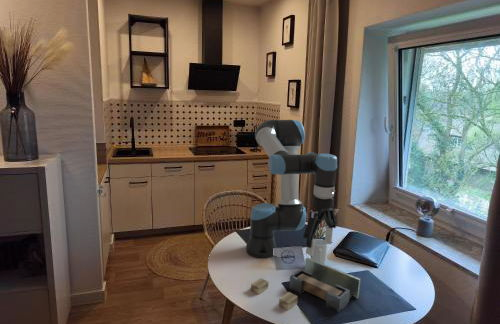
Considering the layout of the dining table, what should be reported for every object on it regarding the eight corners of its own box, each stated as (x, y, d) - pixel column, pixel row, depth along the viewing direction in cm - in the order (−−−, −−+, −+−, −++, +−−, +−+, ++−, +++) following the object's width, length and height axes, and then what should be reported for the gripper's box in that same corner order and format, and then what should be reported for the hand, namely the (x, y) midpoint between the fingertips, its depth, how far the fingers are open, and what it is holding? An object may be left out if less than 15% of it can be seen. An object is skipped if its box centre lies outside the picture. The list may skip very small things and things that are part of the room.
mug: (309, 262, 162) (311, 238, 160) (324, 263, 162) (326, 239, 159) (310, 273, 153) (312, 248, 150) (326, 275, 152) (328, 249, 149)
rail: (296, 286, 141) (296, 277, 140) (301, 282, 144) (302, 273, 143) (336, 305, 129) (337, 295, 128) (341, 300, 132) (342, 291, 131)
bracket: (287, 287, 142) (288, 269, 140) (306, 274, 152) (307, 257, 150) (341, 313, 126) (343, 293, 124) (358, 297, 136) (360, 278, 135)
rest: (250, 290, 139) (251, 283, 138) (260, 284, 143) (260, 277, 142) (287, 310, 127) (288, 303, 126) (297, 303, 131) (297, 296, 131)
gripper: (314, 206, 118) (309, 263, 123) (348, 191, 136) (343, 241, 141) (296, 201, 123) (292, 256, 128) (331, 186, 141) (326, 235, 146)
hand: (319, 248), depth 134 cm, fingers open, 13 cm apart
